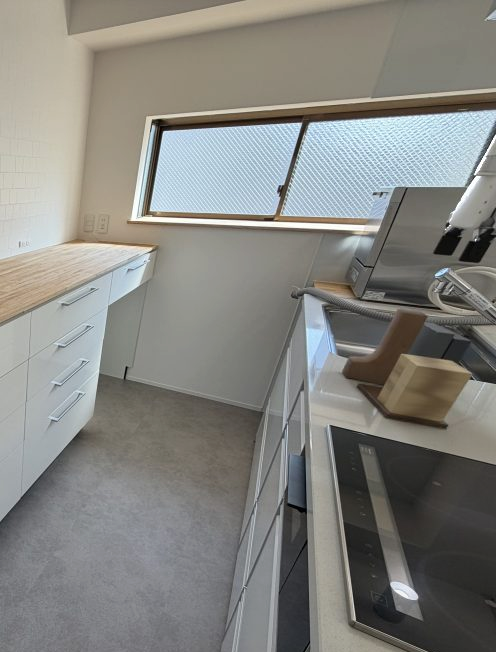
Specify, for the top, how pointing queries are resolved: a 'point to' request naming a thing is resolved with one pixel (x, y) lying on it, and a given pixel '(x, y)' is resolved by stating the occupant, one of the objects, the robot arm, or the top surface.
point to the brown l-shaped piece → (387, 348)
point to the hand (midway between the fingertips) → (454, 258)
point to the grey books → (439, 343)
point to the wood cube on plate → (419, 390)
